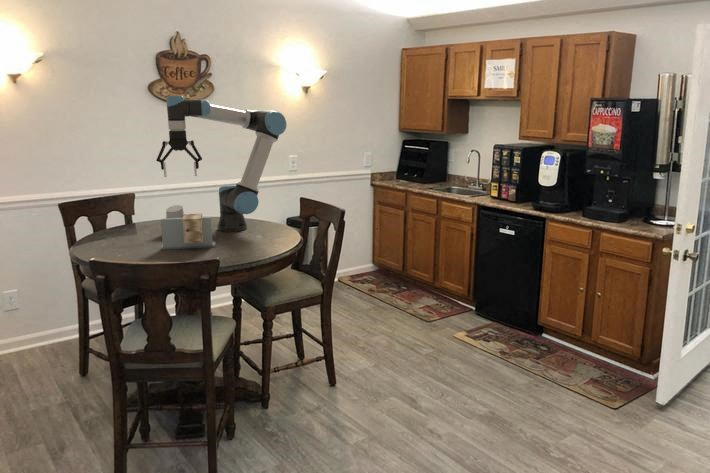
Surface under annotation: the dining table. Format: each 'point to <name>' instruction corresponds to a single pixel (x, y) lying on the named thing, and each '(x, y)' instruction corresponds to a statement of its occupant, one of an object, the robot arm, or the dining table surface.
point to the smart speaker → (175, 212)
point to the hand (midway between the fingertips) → (180, 176)
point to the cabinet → (192, 228)
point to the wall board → (175, 234)
